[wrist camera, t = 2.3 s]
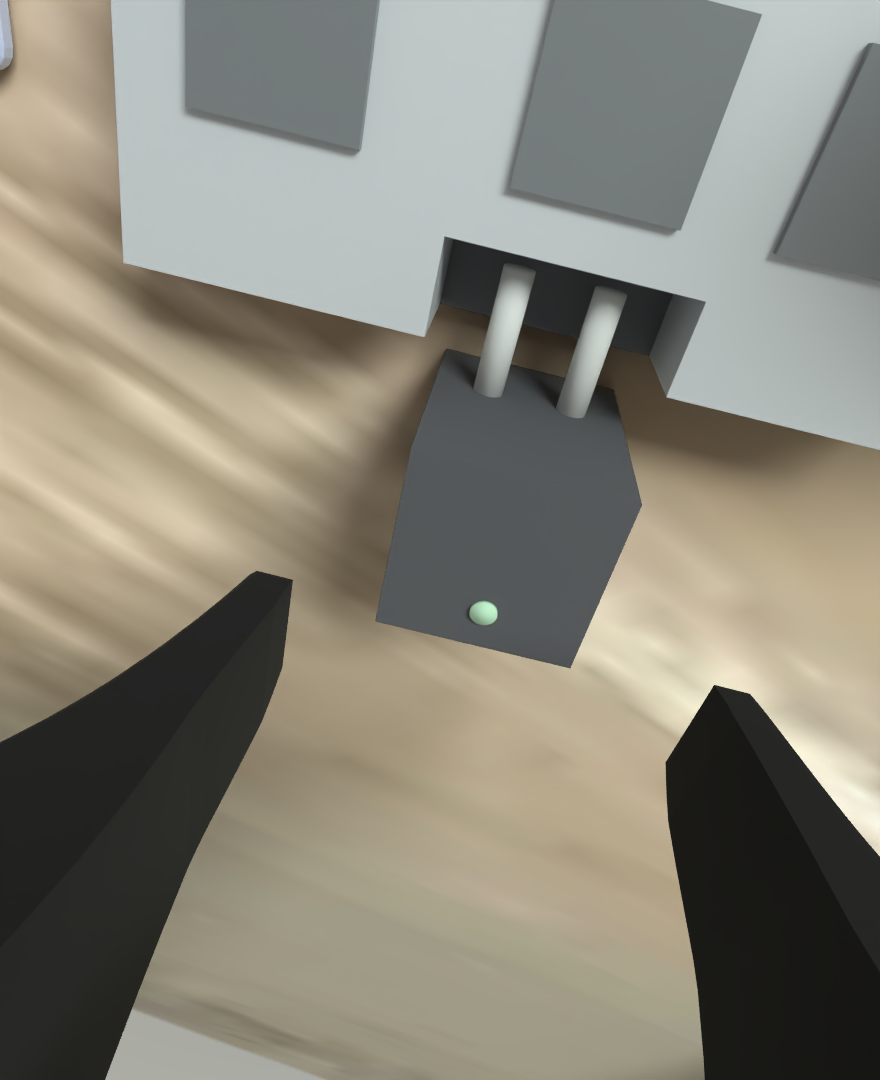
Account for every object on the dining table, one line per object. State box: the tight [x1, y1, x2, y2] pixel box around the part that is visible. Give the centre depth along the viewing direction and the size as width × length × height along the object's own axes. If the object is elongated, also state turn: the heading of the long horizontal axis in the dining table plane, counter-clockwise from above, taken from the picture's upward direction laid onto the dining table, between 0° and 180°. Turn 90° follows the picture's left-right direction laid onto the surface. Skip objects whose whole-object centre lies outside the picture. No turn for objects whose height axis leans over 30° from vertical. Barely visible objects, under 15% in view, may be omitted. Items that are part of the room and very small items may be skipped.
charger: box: [375, 263, 642, 668], centre depth 16 cm, size 4×7×6 cm, turn 167°
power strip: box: [111, 0, 880, 450], centre depth 14 cm, size 18×7×4 cm, turn 77°
